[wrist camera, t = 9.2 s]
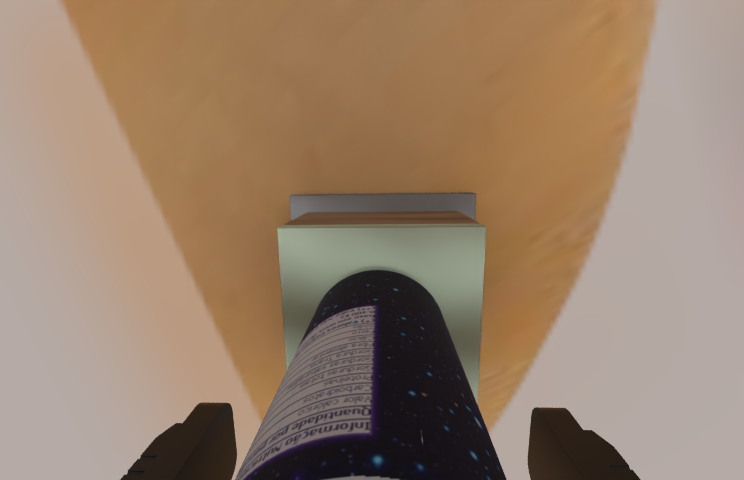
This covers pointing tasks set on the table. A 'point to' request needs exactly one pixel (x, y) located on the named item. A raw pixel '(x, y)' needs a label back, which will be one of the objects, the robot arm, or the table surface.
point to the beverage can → (374, 394)
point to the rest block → (386, 257)
